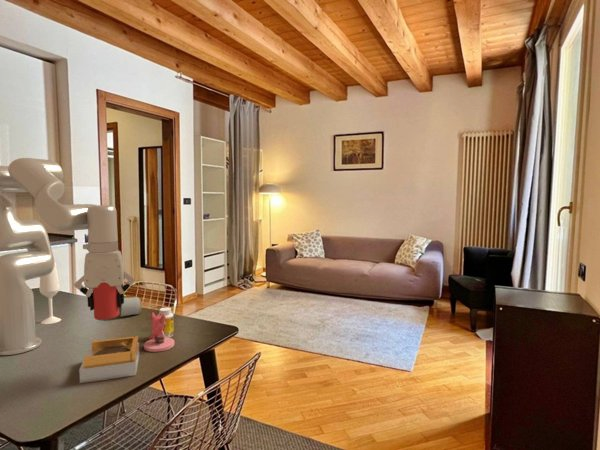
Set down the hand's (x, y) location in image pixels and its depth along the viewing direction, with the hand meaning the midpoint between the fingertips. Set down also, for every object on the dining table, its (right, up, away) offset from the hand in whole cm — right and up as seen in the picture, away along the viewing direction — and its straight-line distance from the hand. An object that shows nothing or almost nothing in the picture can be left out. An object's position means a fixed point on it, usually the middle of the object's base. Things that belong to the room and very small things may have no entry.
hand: (106, 307), depth 107 cm
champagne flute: (-43, -14, +38) cm, 59 cm away
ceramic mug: (-16, -14, +48) cm, 52 cm away
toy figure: (+9, -17, +17) cm, 26 cm away
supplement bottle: (+8, -16, +25) cm, 31 cm away
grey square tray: (+1, -18, +1) cm, 18 cm away
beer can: (0, -3, 0) cm, 3 cm away
